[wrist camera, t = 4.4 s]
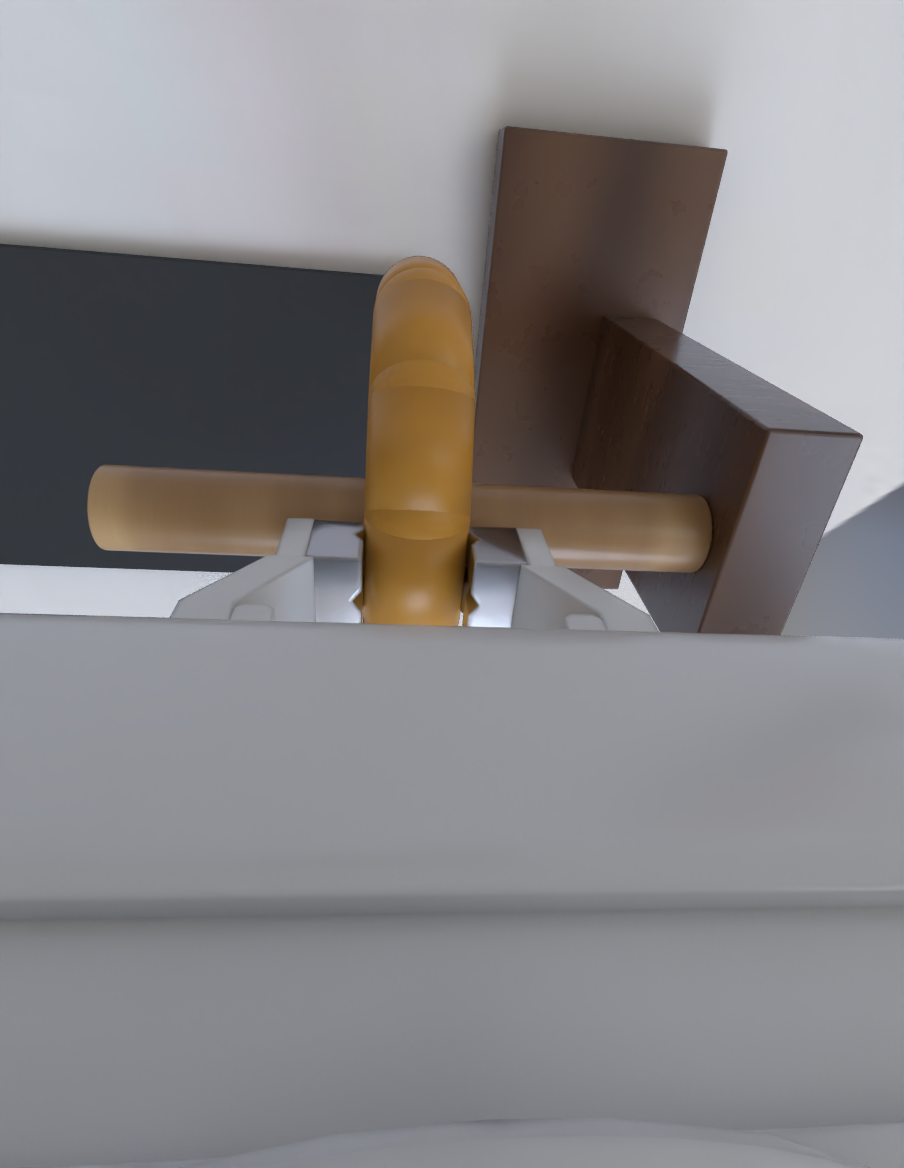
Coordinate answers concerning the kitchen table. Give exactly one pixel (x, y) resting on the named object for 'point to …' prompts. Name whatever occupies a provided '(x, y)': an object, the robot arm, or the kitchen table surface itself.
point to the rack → (580, 407)
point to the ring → (418, 447)
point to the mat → (168, 385)
